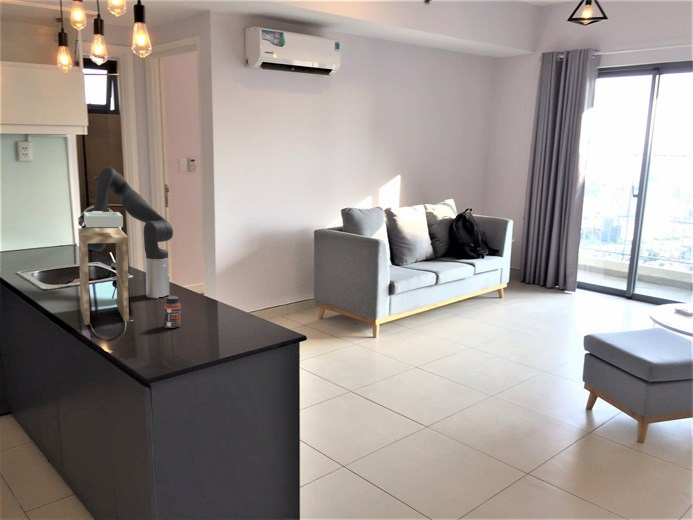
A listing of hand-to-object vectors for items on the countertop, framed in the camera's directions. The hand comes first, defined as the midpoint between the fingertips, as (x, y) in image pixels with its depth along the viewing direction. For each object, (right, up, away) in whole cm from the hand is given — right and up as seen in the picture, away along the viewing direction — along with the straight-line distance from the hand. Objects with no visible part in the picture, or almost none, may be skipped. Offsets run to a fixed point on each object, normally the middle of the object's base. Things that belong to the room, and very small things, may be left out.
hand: (97, 211), depth 230 cm
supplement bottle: (+35, -44, -17) cm, 59 cm away
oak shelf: (+5, -40, -7) cm, 41 cm away
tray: (+5, -4, -9) cm, 11 cm away
